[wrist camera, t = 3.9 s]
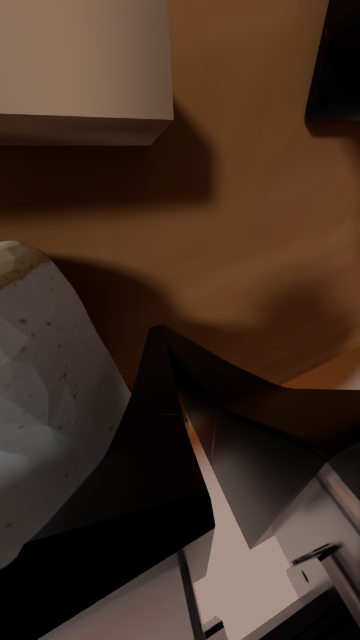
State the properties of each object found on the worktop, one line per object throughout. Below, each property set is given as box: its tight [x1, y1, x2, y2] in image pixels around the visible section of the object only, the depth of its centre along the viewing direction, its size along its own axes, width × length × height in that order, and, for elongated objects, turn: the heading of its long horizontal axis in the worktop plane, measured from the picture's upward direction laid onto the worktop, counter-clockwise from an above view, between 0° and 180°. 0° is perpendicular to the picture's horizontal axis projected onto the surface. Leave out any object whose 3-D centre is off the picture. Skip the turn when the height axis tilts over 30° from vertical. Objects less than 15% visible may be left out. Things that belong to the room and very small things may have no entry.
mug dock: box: [0, 0, 189, 436], centre depth 8 cm, size 12×18×3 cm, turn 4°
